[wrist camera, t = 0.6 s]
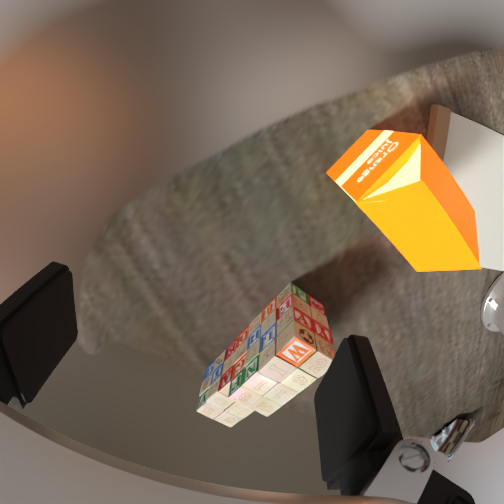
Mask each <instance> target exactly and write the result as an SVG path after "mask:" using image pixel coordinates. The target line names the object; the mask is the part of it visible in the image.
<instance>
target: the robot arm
mask: <svg viewBox="0 0 504 504" xmlns="http://www.w3.org/2000/svg"><path fill="white" fill-rule="evenodd" d="M73 293H74V292H73V279H72V273H71V272H70V271H69V268H68V266H66V265H63V264H60V263H57V262H51V263H50V264H49V265H48V266H46V267H45V268H44V269H42V270H41V271H40V272H39V273H37V274H36V275H35V276H34V277H32V278H31V279H30V280H29V281H28V282H26V283H25V284H24V285H23V286H21V287H20V288H19V289H18V290H17V291H15V292H14V293H13V294H12V295H11V296H10V297H8V298H7V299H6V300H5V301H4V302H3V303H2V304H0V504H475V502H474V499H473V498H472V496H471V495H470V494H469V493H468V492H467V491H465V490H464V489H462V488H461V487H459V486H458V485H456V484H454V483H453V482H451V481H450V480H448V479H447V478H445V477H444V476H442V475H441V474H439V473H438V472H436V471H435V470H433V467H434V463H435V462H434V456H433V454H432V451H431V450H430V448H429V447H428V446H427V445H425V444H424V443H423V442H422V441H419V440H417V439H413V438H407V439H403V437H402V433H401V430H400V427H399V424H398V421H397V418H396V415H395V411H394V408H393V405H392V402H391V399H390V397H389V394H388V391H387V388H386V385H385V382H384V380H383V377H382V374H381V371H380V369H379V366H378V363H377V360H376V358H375V355H374V352H373V350H372V347H371V344H370V342H369V339H368V338H367V337H364V336H358V335H350V336H349V337H348V338H344V339H343V340H342V342H341V344H340V346H339V348H338V350H337V352H336V354H335V356H334V358H333V360H332V362H331V364H330V366H329V368H328V370H327V372H326V374H325V375H324V377H323V379H322V381H321V383H320V385H319V387H318V388H317V390H316V393H315V397H314V402H315V411H316V419H317V430H318V440H319V450H320V461H321V472H322V479H323V481H327V489H328V490H330V489H331V490H337V489H340V490H341V495H305V494H290V493H277V492H265V491H257V490H249V489H242V488H235V487H229V486H223V485H217V484H212V483H207V482H202V481H197V480H193V479H188V478H184V477H180V476H176V475H172V474H168V473H164V472H161V471H157V470H154V469H150V468H147V467H144V466H140V465H137V464H134V463H131V462H128V461H125V460H122V459H120V458H117V457H114V456H111V455H109V454H106V453H103V452H101V451H98V450H96V449H93V448H91V447H88V446H86V445H84V444H81V443H79V442H77V441H74V440H72V439H70V438H68V437H66V436H63V435H61V434H59V433H57V432H55V431H53V430H51V429H49V428H47V427H45V426H43V425H41V424H39V423H37V422H36V421H34V420H32V419H30V418H28V417H27V416H25V415H23V414H21V413H19V412H18V411H16V410H14V409H12V408H11V407H9V406H7V404H8V403H9V401H11V402H12V403H13V404H15V405H17V406H18V407H21V408H22V409H23V408H24V406H25V405H26V404H27V403H30V402H32V400H33V399H34V398H35V396H36V395H37V393H38V392H39V390H40V389H41V387H42V386H43V384H44V383H45V381H46V380H47V379H48V377H49V376H50V375H51V373H52V372H53V370H54V369H55V368H56V366H57V365H58V363H59V362H60V361H61V359H62V358H63V356H64V355H65V354H66V353H67V351H68V350H69V348H70V347H71V346H72V344H73V343H74V342H75V340H76V338H77V334H78V330H77V322H76V313H75V304H74V294H73ZM481 319H482V322H483V324H484V326H485V327H486V328H487V329H488V330H490V331H493V332H497V331H500V332H501V333H502V334H503V335H504V272H503V273H502V274H501V275H500V276H499V277H498V278H497V279H496V280H495V281H494V283H493V284H492V285H491V287H490V288H489V290H488V292H487V294H486V296H485V298H484V301H483V304H482V309H481Z"/></svg>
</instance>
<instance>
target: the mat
mask: <svg viewBox="0 0 504 504" xmlns="http://www.w3.org/2000/svg"><path fill="white" fill-rule="evenodd" d="M426 141H427V142H428V144H429V145H430V146H431V148H432V149H433V150H434V151H435V153H436V154H437V155H438V157H439V158H440V160H441V161H442V162H443V164H444V165H445V166H446V168H447V169H448V171H449V172H450V173H451V175H452V176H453V178H454V179H455V181H456V182H457V184H458V185H459V187H460V188H461V190H462V191H463V193H464V194H465V196H466V198H467V199H468V201H469V202H470V204H471V206H472V207H473V209H474V210H475V212H476V213H475V220H476V228H477V238H478V249H479V263H480V267H484V268H489V269H494V270H500V271H504V136H503V135H501V134H499V133H497V132H495V131H493V130H491V129H489V128H487V127H485V126H483V125H480V124H478V123H476V122H474V121H472V120H469V119H467V118H465V117H462V116H460V115H457V114H455V113H453V112H451V109H449V108H446V107H444V106H441V105H439V104H437V105H431V109H430V117H429V124H428V131H427V137H426ZM400 253H401V252H400ZM401 254H402V253H401Z"/></svg>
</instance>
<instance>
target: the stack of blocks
mask: <svg viewBox="0 0 504 504" xmlns="http://www.w3.org/2000/svg"><path fill="white" fill-rule="evenodd" d="M333 345H334V343H333V339H332V334H331V331H330V329H329V325H328V321H327V318H326V312H325V308H324V305H322V304H321V303H320V302H318V301H317V300H316V299H314V298H313V297H311V296H310V295H308V294H307V293H305V292H304V291H302V290H301V289H300V288H298V287H297V286H295V285H294V284H293V283H291V282H290V283H289V284H288V285H287V286H286V287H285V288H284V290H283V291H282V292H281V293H280V294H279V295H278V296H277V297H275V298H274V299H273V300H272V301H271V302H270V303H269V305H268V306H267V307H266V308H265V309H264V310H263V311H262V312H261V313H260V314H259V315H258V316H257V317H256V318H255V319H254V320H253V321H252V322H251V323H250V325H249V326H248V327H247V329H246V330H245V331H244V332H243V333H242V334H241V335H240V336H239V337H238V338H237V339H236V340H235V341H234V342H233V343H232V344H231V345H230V346H229V347H228V349H226V350H225V351H224V352H223V353H222V354H221V355H220V356H219V357H218V358H217V359H216V360H215V361H214V362H213V363H212V364H211V365H210V366H209V367H208V368H207V369H206V371H205V375H204V379H203V383H202V387H201V390H200V394H199V396H200V398H199V401H198V405H197V409H196V411H197V412H199V413H201V414H203V415H205V416H208V417H209V418H211V419H215V420H216V421H218V422H220V423H222V424H224V425H227V426H229V427H232V426H233V425H234V424H236V423H238V422H239V421H240V420H241V419H244V418H245V417H246V416H248V415H249V414H250V413H252V412H253V411H254V410H255V411H257V412H259V413H261V414H263V415H265V416H269V415H271V414H272V413H273V412H275V411H276V410H277V409H279V408H280V407H282V405H284V404H285V403H286V402H288V401H289V400H290V399H291V398H293V397H294V396H296V395H297V394H298V393H299V392H301V391H303V390H304V389H305V388H306V387H308V386H309V385H310V384H311V383H313V382H314V381H315V380H316V379H317V378H319V377H321V376H322V375H323V374H325V373H326V372H327V370H328V368H329V366H330V364H331V362H332V360H333V358H334V356H335V352H334V348H333Z"/></svg>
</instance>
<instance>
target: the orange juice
mask: <svg viewBox="0 0 504 504" xmlns="http://www.w3.org/2000/svg"><path fill="white" fill-rule="evenodd" d="M326 173H327V174H328V175H329V176H330V177H331V178H332V179H333V180H334V181H335V182H336V183H337V184H338V185H339V186H340V187H341V188H342V189H343V190H344V191H345V192H346V193H347V194H348V195H349V196H350V197H351V198H352V199H353V200H354V201H355V203H356V204H357V205H358V206H359V207H360V208H361V209H362V210H363V211H364V212H365V213H366V214H367V216H368V217H369V218H370V219H371V220H372V221H373V222H374V223H375V224H376V225H377V226H378V227H379V229H380V230H381V231H382V232H383V233H384V234H385V235H386V236H387V237H388V239H389V240H390V241H391V242H392V243H393V244H394V245H395V246H396V248H397V249H398V250H399V251H400V252H401V253H402V255H403V256H404V257H405V258H406V259H407V260H408V262H409V263H410V264H411V265H412V266H413V268H414V269H415V270H416V271H417V272H420V271H446V270H469V269H481V267H480V263H479V249H478V238H477V228H476V220H475V213H476V212H475V210H474V209H473V207H472V206H471V204H470V202H469V201H468V199H467V198H466V196H465V194H464V193H463V191H462V190H461V188H460V187H459V185H458V184H457V182H456V181H455V179H454V178H453V176H452V175H451V173H450V172H449V171H448V169H447V168H446V166H445V165H444V164H443V162H442V161H441V160H440V158H439V157H438V155H437V154H436V153H435V151H434V150H433V149H432V148H431V146H430V145H429V144H428V142H427V141H426V140H425V139H424V137H423V136H422V135H421V134H414V133H404V132H394V131H388V130H384V131H381V130H367V131H366V132H365V133H364V134H363V135H362V136H361V137H360V138H359V139H358V140H357V141H356V142H355V143H354V144H353V145H352V146H351V147H350V149H349V150H348V151H347V152H346V153H345V154H344V155H343V156H342V157H341V158H340V159H339V160H338V161H337V162H336V163H335V164H334V165H333V166H332V167H331V168H330V169H329V170H328V171H327V172H326ZM359 207H358V208H359ZM394 245H393V246H394Z"/></svg>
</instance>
